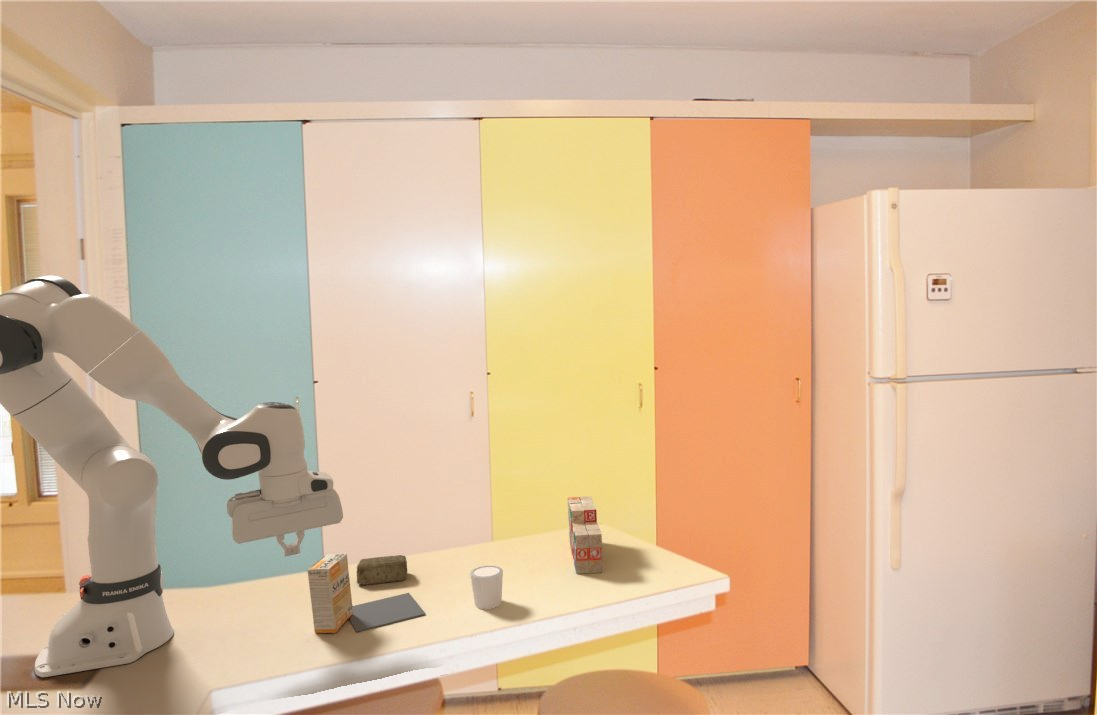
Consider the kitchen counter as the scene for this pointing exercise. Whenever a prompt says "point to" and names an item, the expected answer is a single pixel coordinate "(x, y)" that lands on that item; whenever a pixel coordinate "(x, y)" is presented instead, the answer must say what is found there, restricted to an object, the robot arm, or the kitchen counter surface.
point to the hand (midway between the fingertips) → (292, 554)
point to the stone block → (381, 570)
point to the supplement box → (330, 593)
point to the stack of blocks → (584, 535)
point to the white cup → (487, 586)
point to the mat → (385, 612)
